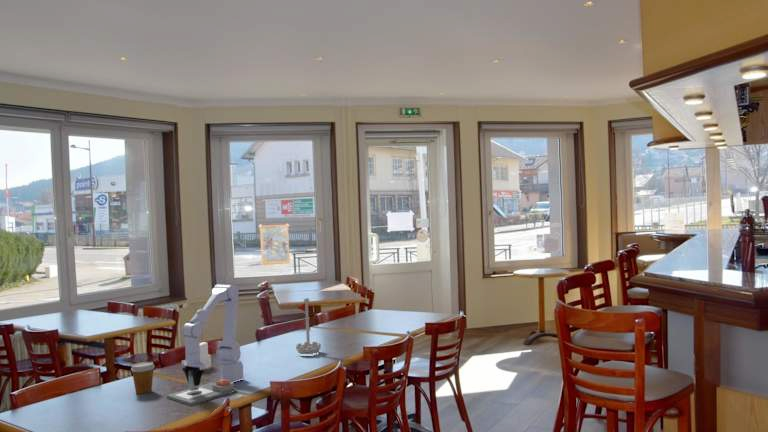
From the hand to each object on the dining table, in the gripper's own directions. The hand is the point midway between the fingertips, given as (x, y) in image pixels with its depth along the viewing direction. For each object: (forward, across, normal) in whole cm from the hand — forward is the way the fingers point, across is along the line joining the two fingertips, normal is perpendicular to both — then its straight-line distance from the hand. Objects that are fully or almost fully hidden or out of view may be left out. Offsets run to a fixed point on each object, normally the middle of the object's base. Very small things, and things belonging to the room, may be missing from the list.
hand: (194, 384), depth 245 cm
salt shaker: (+2, 0, 0) cm, 2 cm away
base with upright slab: (+5, -38, +28) cm, 47 cm away
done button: (+3, +6, +10) cm, 12 cm away
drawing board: (+5, +1, +3) cm, 6 cm away
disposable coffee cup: (+5, -25, -9) cm, 27 cm away
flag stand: (+5, -12, +76) cm, 77 cm away
